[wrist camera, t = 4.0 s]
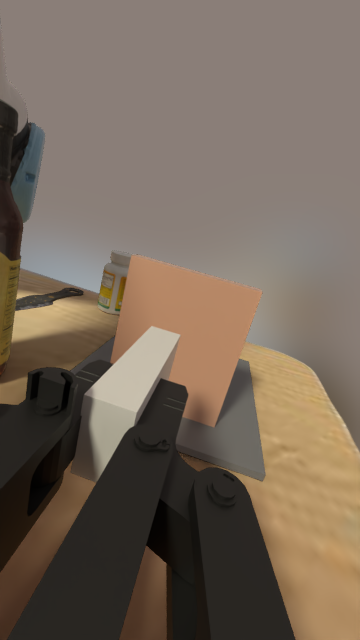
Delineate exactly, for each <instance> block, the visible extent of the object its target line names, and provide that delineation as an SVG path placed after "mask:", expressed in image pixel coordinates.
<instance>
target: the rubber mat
mask: <svg viewBox="0 0 360 640" xmlns="http://www.w3.org/2000/svg"><path fill="white" fill-rule="evenodd" d="M115 336H116V335H115ZM115 336H114V337H113V338H111V339H110V340H109V341H108V342H106V343H105V344H104V345H102V346H101V347H100V348H99V349H97V350H96V351H95V352H94V353H92V354H91V355H90V356H88V357H87V358H86V359H85V360H83V361H82V362H81V363H80V364H78V365H77V366H76V367H74V368H73V369H72V370H71V371H70V372H72V373H73V374H74V375H75V374H76V373H77V372H79V371H81V369H82V368H83V367H85V366H86V365H87V364H88V363H91V362H94V361H97V360H103V361H106V362H110V361H111V356H112V351H113V346H114V341H115ZM176 449H177V451H179V452H181V453H184V454H187V455H190V456H193V457H196V458H198V459H201V460H204V461H207V462H210V463H212V464H215V465H218V466H221V467H224V468H227V469H229V470H232V471H235V472H238V473H241V474H244V475H246V476H249V477H252V478H255V479H258V480H261V481H263V479H264V477H265V468H264V461H263V455H262V448H261V441H260V434H259V427H258V421H257V414H256V407H255V400H254V393H253V387H252V380H251V373H250V366H249V362H248V361H245V360H242V359H239V360H238V363H237V365H236V368H235V371H234V374H233V377H232V379H231V382H230V385H229V388H228V391H227V393H226V396H225V399H224V402H223V405H222V408H221V410H220V413H219V416H218V419H217V422H216V424H215V427H211V426H208V425H205V424H202V423H199V422H196V421H193V420H191V419H188V418H185V417H182V420H181V423H180V427H179V430H178V434H177V437H176Z"/></svg>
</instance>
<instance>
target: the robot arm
mask: <svg viewBox="0 0 360 640" xmlns="http://www.w3.org/2000/svg"><path fill="white" fill-rule="evenodd" d="M0 99H1V100H3V101H5V102H6V103H8V104H9V105H11V106H12V107H13V108H15V109H16V111H17V112H18V131H17V133H16V135H15V136H14V138H13V143H12V152H11V164H10V172H11V177H10V182H9V183H10V187H11V191H12V194H13V198H14V201H15V203H16V204H17V206H18V209H19V211H20V214H21V216H22V219H23V223H25V222H26V221H27V220H28V219H29V217H30V215H31V211H32V207H33V203H34V198H35V193H36V188H37V183H38V177H39V172H40V166H41V161H42V155H43V149H44V141H45V133H44V131H43V130H42V129H41V128H40V127H38V126H36V124H34V123H31V122H30V123H28V117H27V108H26V103H25V102H24V99H23V97H22V95H21V94H20V92H19V91H18V90H17V89H16V87H15V86H14V85H13V84H12V83H11V82H10V81H9V80H8V79H7V76H6V67H5V59H4V49H3V39H2V30H1V21H0ZM180 336H181V335H180V334H176V333H173V332H170V331H166V330H163V329H160V328H157V327H153V326H151V327H150V328H149V329H148V330H147V331H146V332H145V333H144V334H143V335H142V336H141V337H140V338H139V339H138V340H137V341H136V342H135V343H134V344H133V345H132V346H131V347H130V348H129V349H128V350H127V351H126V352H125V353H124V355H123V356H122V357H121V358H120V359H119V360H118V361H117V362H116V363H115V364H113V363H110V362H106V361H103V360H97V361H94V362H91V363H88V364H87V365H86V366H85V367H83V368H82V369H81V371H79V372H77V373H76V374H75V375H74V374H73V373H72V372H70V371H68V370H66V369H61V368H51V367H46V368H40V369H36V370H33V371H31V372H29V373H28V381H27V391H26V399H25V400H24V401H23V402H21V403H20V404H19V405H9V404H0V572H1V570H2V569H3V568H4V566H5V565H6V563H7V562H8V560H9V559H10V558H11V556H12V555H13V553H14V552H15V551H16V549H17V548H18V546H19V545H20V543H21V542H22V541H23V539H24V538H25V536H26V535H27V533H28V532H29V531H30V529H31V528H32V526H33V525H34V524H35V522H36V521H37V519H38V518H39V516H40V515H41V514H42V512H43V511H44V509H45V508H46V506H47V505H48V504H49V502H50V501H51V499H52V498H53V497H54V495H55V494H56V492H57V491H58V489H59V488H60V485H61V483H62V480H63V474H64V470H65V469H66V468H67V466H68V465H69V464H70V462H71V461H72V460H73V462H72V468H71V473H73V474H75V475H78V476H81V477H83V478H86V479H89V480H92V481H94V482H97V483H96V485H95V486H94V488H93V490H92V492H91V493H90V495H89V497H88V499H87V500H86V502H85V504H84V506H83V507H82V509H81V511H80V513H79V514H78V516H77V518H76V520H75V521H74V523H73V525H72V527H71V528H70V530H69V532H68V534H67V535H66V537H65V539H64V541H63V542H62V544H61V546H60V548H59V549H58V551H57V553H56V555H55V556H54V558H53V560H52V562H51V563H50V565H49V567H48V569H47V571H46V572H45V574H44V576H43V578H42V579H41V581H40V583H39V585H38V586H37V588H36V590H35V592H34V593H33V595H32V597H31V599H30V600H29V602H28V604H27V606H26V607H25V609H24V611H23V613H22V614H21V616H20V618H19V620H18V621H17V623H16V625H15V627H14V628H13V630H12V632H11V634H10V635H9V637H8V639H7V640H119V637H120V634H121V630H122V627H123V623H124V620H125V616H126V613H127V609H128V606H129V602H130V599H131V595H132V592H133V588H134V585H135V582H136V578H137V575H138V571H139V568H140V564H141V561H142V557H143V554H144V550H145V547H146V546H148V547H149V548H150V549H151V550H152V551H153V552H154V553H155V554H157V555H158V556H159V557H160V558H161V559H162V560H163V561H164V562H166V563H167V566H166V576H167V640H295V637H294V634H293V630H292V627H291V624H290V621H289V618H288V615H287V611H286V608H285V605H284V602H283V599H282V596H281V593H280V589H279V586H278V583H277V580H276V577H275V574H274V571H273V567H272V564H271V561H270V558H269V555H268V552H267V549H266V545H265V542H264V539H263V536H262V533H261V530H260V527H259V523H258V520H257V517H256V514H255V511H254V508H253V505H252V501H251V498H250V495H249V493H248V491H247V489H246V487H245V486H244V484H243V483H242V482H241V481H240V480H239V479H238V478H237V477H236V476H234V475H233V474H231V473H230V472H228V471H226V470H223V469H220V468H206V469H204V470H202V471H200V472H198V471H196V470H195V469H193V468H192V467H191V466H189V465H188V464H187V463H186V462H185V461H184V460H183V459H182V458H181V457H180V455H179V453H178V451H177V449H176V437H177V434H178V430H179V427H180V423H181V420H182V416H183V413H184V409H185V406H186V402H187V399H188V392H187V389H186V386H183V385H180V384H177V383H174V382H171V381H168V380H169V376H170V372H171V369H172V365H173V361H174V358H175V354H176V350H177V347H178V343H179V339H180Z"/></svg>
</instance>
